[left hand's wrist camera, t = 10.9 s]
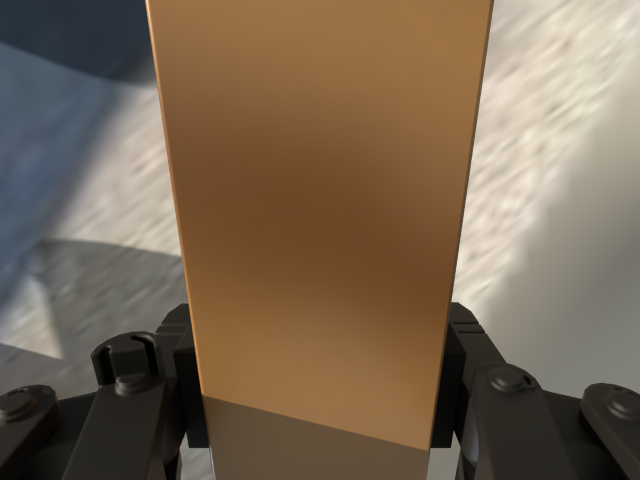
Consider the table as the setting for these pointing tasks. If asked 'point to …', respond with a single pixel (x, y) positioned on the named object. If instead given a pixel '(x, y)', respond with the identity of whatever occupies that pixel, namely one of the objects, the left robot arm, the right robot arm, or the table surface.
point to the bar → (319, 220)
